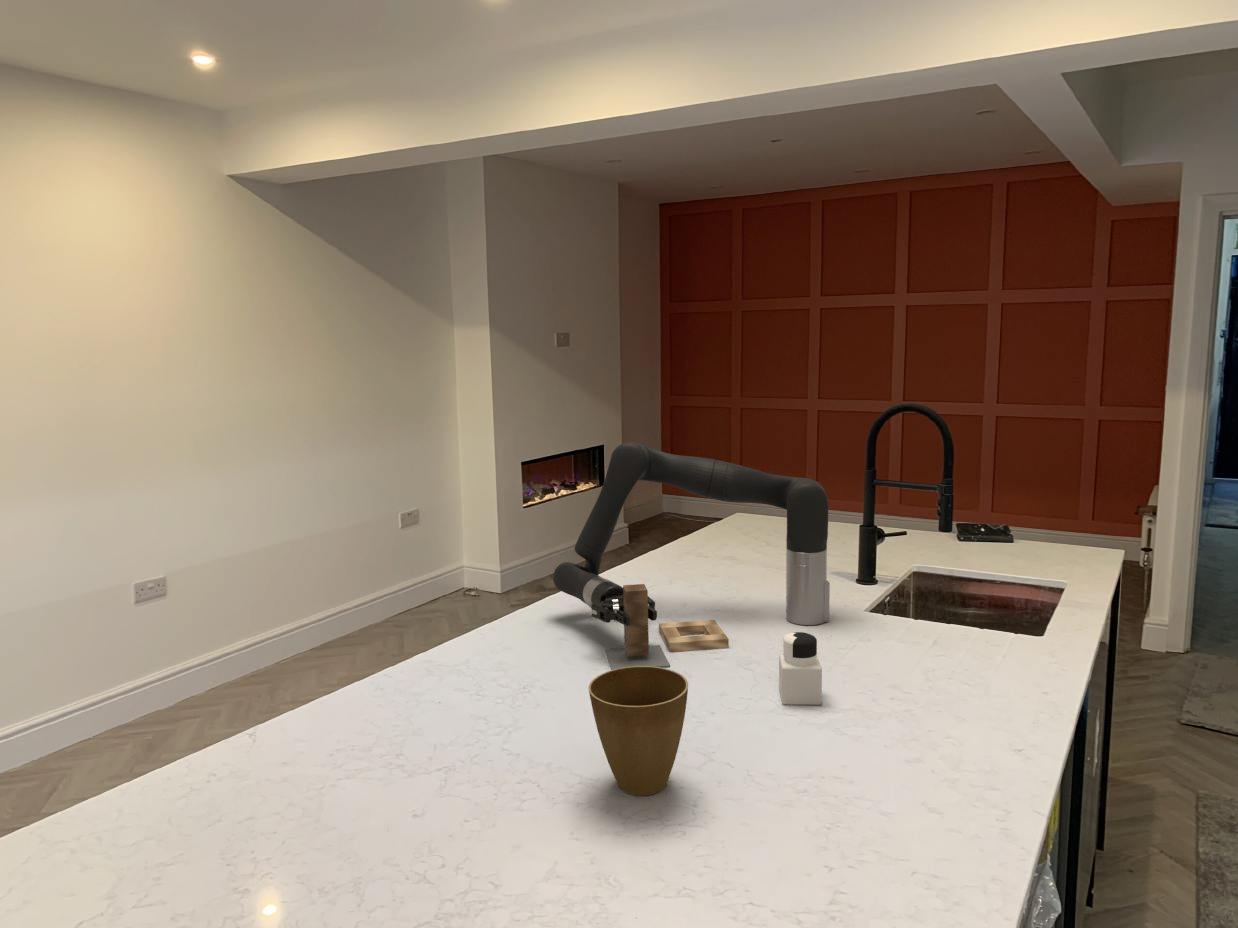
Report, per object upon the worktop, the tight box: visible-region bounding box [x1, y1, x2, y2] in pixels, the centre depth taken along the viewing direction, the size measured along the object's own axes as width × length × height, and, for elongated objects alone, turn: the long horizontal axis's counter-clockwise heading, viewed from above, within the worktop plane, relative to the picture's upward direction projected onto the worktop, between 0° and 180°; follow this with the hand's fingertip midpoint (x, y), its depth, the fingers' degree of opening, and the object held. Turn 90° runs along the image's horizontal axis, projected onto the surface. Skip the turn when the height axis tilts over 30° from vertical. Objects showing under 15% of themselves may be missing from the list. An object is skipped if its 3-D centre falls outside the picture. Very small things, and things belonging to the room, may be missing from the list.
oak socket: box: [658, 619, 730, 653], centre depth 193 cm, size 13×13×2 cm
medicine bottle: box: [778, 631, 823, 706], centre depth 160 cm, size 7×7×12 cm
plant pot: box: [588, 666, 689, 797], centre depth 130 cm, size 15×15×16 cm
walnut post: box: [622, 583, 650, 657], centre depth 181 cm, size 4×4×14 cm
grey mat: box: [604, 644, 671, 670], centre depth 182 cm, size 12×12×1 cm
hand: (641, 618), depth 179 cm, fingers closed on walnut post, 5 cm apart
